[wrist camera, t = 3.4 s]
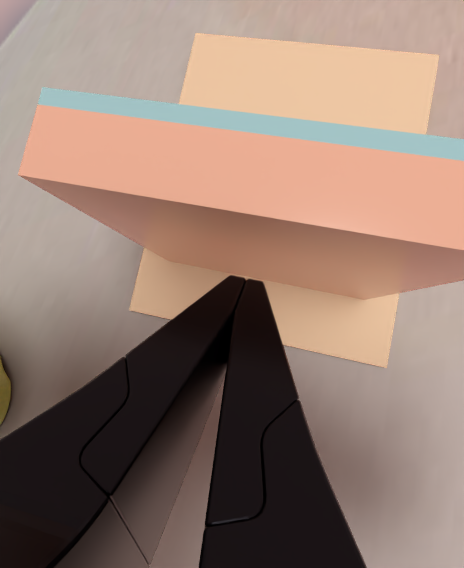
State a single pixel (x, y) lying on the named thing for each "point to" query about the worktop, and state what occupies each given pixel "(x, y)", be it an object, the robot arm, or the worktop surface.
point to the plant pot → (4, 392)
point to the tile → (258, 191)
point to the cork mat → (308, 106)
